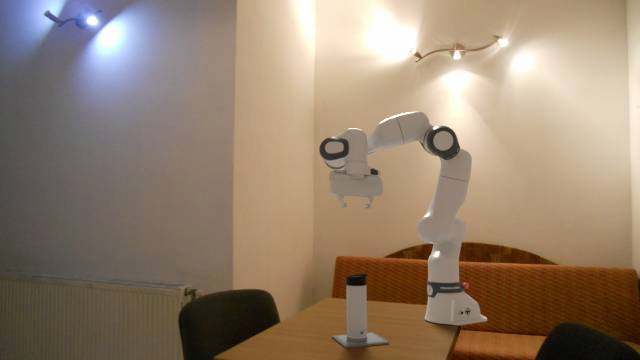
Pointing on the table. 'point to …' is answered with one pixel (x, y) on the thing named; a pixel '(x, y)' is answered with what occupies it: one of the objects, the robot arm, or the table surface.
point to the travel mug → (356, 308)
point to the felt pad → (371, 340)
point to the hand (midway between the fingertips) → (356, 208)
